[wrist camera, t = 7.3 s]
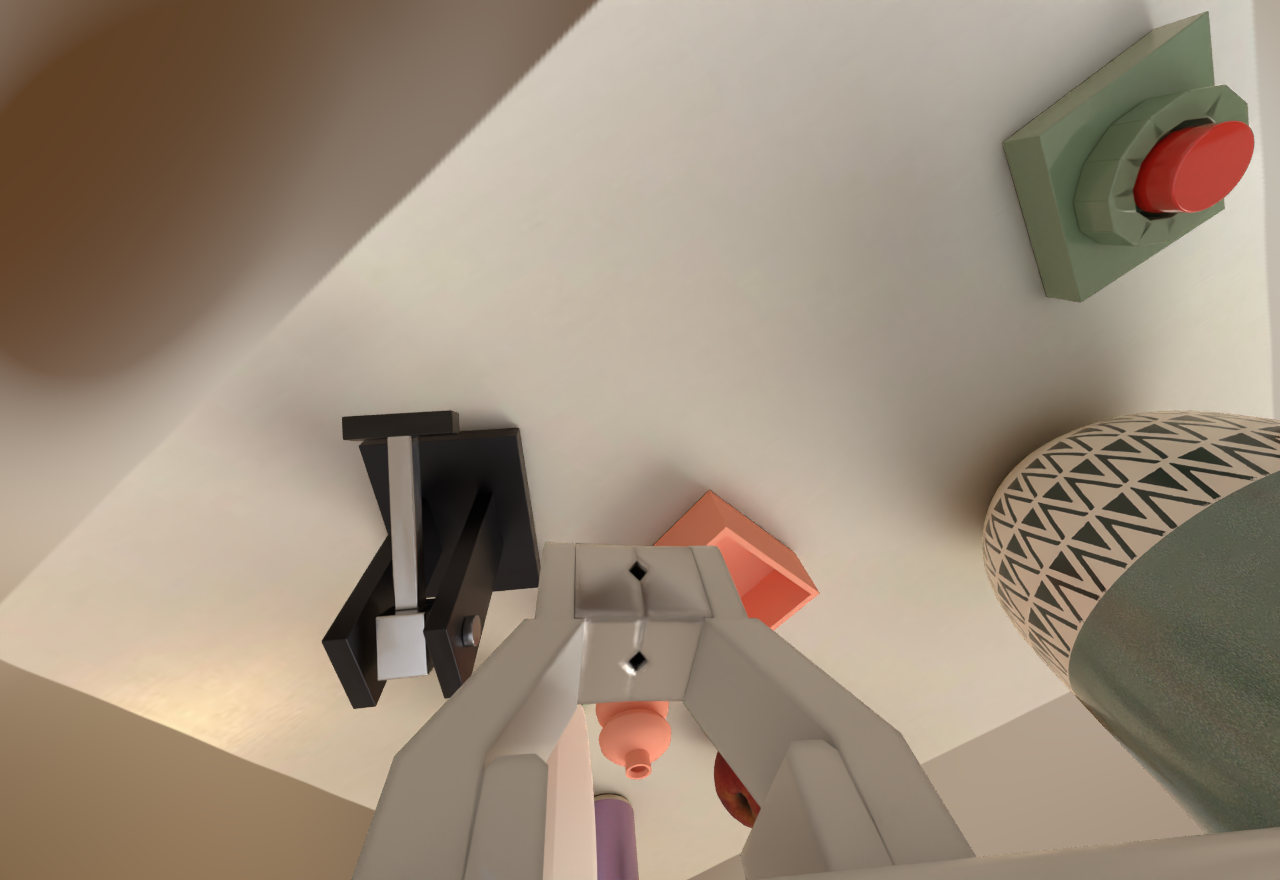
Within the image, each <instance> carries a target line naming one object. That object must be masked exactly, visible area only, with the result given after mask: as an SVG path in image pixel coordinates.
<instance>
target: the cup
mask: <svg viewBox="0 0 1280 880" xmlns="http://www.w3.org/2000/svg"><path fill="white" fill-rule="evenodd" d="M546 763H547V764H548V785H547V805H546V825H545V845H544V865H543V880H597V853H596V826H595V809H594V794H593V778H592V768H591V759H590V750H589V740H588V733H587V726H586V719H585V712H584V708H583V707H582V705H581V704H577V709H576V711H575V712H574V714H573V716H572V718H571V719H570V721H569V723H568V725H567V726H566V728H565V730H564V732H563V733H562V735H561V737H560V739H559V740H558V742H557V744H556V746H555V748H554V749H553V751H552V753H551V755H550V756H549V758H548V760H547V762H546Z"/></svg>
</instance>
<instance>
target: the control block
mask: <svg viewBox="0 0 1280 880" xmlns="http://www.w3.org/2000/svg"><path fill="white" fill-rule="evenodd" d="M1230 120H1236V121H1241V122H1244V123H1245V124H1247V125H1248V126H1249V122H1248V106H1247V103H1246V102H1245V101H1244V100H1243V99H1241V98H1240V97H1239V96H1238V95H1237V94H1236V93H1235V92H1233V91H1232V90H1231V89H1230V88H1229V87H1228V86H1226V85H1219V86H1215V85H1214V72H1213V60H1212V48H1211V36H1210V24H1209V12H1208V11H1207V12H1204V13H1201V14H1198V15H1195V16H1192V17H1189V18H1186V19H1183V20H1180V21H1177V22H1174V23H1171V24H1168V25H1165V26H1162V27H1159V28H1156V29H1154V30H1152V31H1151V32H1150V33H1148V34H1147V35H1146V36H1144V37H1143V38H1142V39H1140V40H1139V41H1138V42H1136V43H1135V44H1134V45H1132V46H1131V47H1130V48H1128V49H1127V50H1126V51H1124V52H1123V53H1122V54H1120V55H1119V56H1118V57H1116V58H1115V59H1114V60H1112V61H1111V62H1110V63H1108V64H1107V65H1106V66H1104V67H1103V68H1102V69H1100V70H1099V71H1098V72H1096V73H1095V74H1094V75H1092V76H1091V77H1090V78H1088V79H1087V80H1086V81H1084V82H1083V83H1082V84H1080V85H1079V86H1078V87H1076V88H1075V89H1074V90H1072V91H1071V92H1070V93H1068V94H1067V95H1065V96H1064V97H1063V98H1061V99H1060V100H1059V101H1057V102H1056V103H1055V104H1053V105H1052V106H1051V107H1049V108H1048V109H1047V110H1045V111H1044V112H1043V113H1041V114H1040V115H1039V116H1037V117H1036V118H1035V119H1033V120H1032V121H1031V122H1029V123H1028V124H1027V125H1025V126H1024V127H1023V128H1021V129H1020V130H1019V131H1017V132H1016V133H1015V134H1013V135H1012V136H1011V137H1009V138H1008V139H1007V140H1005V141H1004V142H1003V146H1004V150H1005V153H1006V157H1007V160H1008V164H1009V167H1010V171H1011V174H1012V178H1013V181H1014V185H1015V188H1016V192H1017V195H1018V199H1019V202H1020V206H1021V209H1022V213H1023V216H1024V220H1025V223H1026V227H1027V230H1028V234H1029V237H1030V240H1031V244H1032V247H1033V251H1034V254H1035V258H1036V261H1037V265H1038V268H1039V272H1040V275H1041V279H1042V282H1043V286H1044V289H1045V293H1046V296H1047V297H1051V298H1057V299H1063V300H1068V301H1074V302H1083V301H1084V300H1086V299H1087V298H1089V297H1090V296H1092V295H1093V294H1095V293H1096V292H1098V291H1099V290H1101V289H1103V288H1104V287H1106V286H1107V285H1109V284H1110V283H1112V282H1113V281H1115V280H1116V279H1118V278H1119V277H1121V276H1122V275H1124V274H1125V273H1127V272H1129V271H1130V270H1132V269H1133V268H1135V267H1136V266H1138V265H1139V264H1141V263H1142V262H1144V261H1145V260H1147V259H1148V258H1150V257H1151V256H1153V255H1155V254H1156V253H1158V252H1159V251H1161V250H1162V249H1164V248H1165V247H1167V246H1168V245H1170V244H1171V243H1173V242H1174V241H1176V240H1178V239H1179V238H1181V237H1182V236H1184V235H1185V234H1187V233H1188V232H1190V231H1191V230H1193V229H1194V228H1196V227H1197V226H1199V225H1200V224H1202V223H1204V222H1205V221H1207V220H1208V219H1210V218H1211V217H1213V216H1214V215H1216V214H1217V213H1219V212H1220V211H1222V210H1223V209H1224V208H1225V207H1224V198H1223V199H1222V200H1221V201H1219V202H1218V203H1216V204H1215V205H1213V206H1211V207H1209V208H1207V209H1205V210H1202V211H1199V212H1195V213H1147V212H1144V211H1142V210H1141V209H1139V208H1138V207H1137V205H1136V204H1135V200H1134V194H1133V188H1134V185H1135V182H1136V179H1137V176H1138V173H1139V170H1140V167H1141V163H1142V162H1143V160H1144V159H1145V158H1146V156H1147V155H1148V153H1149V152H1150V151H1151V149H1152V148H1153V147H1154V146H1155V145H1156V144H1157V143H1158V142H1159V141H1160V140H1161V139H1163V138H1164V137H1165V136H1167V135H1168V134H1170V133H1172V132H1174V131H1176V130H1178V129H1181V128H1185V127H1190V126H1197V125H1204V124H1210V123H1217V122H1223V121H1230Z"/></svg>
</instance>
